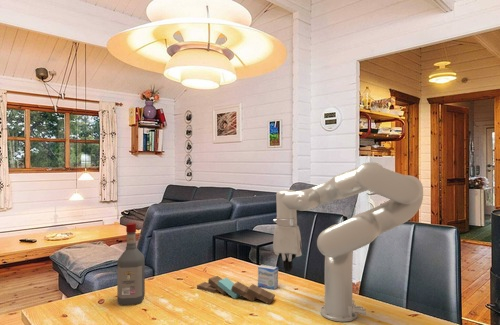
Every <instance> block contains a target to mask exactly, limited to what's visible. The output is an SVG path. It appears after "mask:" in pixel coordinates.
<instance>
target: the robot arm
mask: <svg viewBox="0 0 500 325" xmlns="http://www.w3.org/2000/svg"><path fill="white" fill-rule="evenodd" d="M366 191H369V192H371V193H373V194H376V195H379V196H381V197H383V198H386V199H389V200H387V201H385V202H383V203H381V204H379V205H377V206H375V207H373V208H371V209H369V210H366V211H363V212H360V213H357V214H355V215H354V216H353V215H352V217H349V218H348V219H346V220H344V221H342V222H339V223H336V224H332V225H330V226H329V227H327V228H326V229H324V230H322V231H321V232H320V233H319V234H318V237H317V239H316V247H317V249H318V250H319V252H320V253H321V255H323V256H324V305H322V306H321V307H320V310H319V311H320V315H321V316H322V317H324V318H325V319H328V320H330V321H333V322H340V323H341V322H342V323H344V322H352V321H354V320H356V319H357V318H358V315H363V316H366V312H367V311H366V308H364V306H361V305H357V304H355V300H353V261H354V260H353V258H354V251H357V250H358V249H361V248H364V247H366V246H367V245H369V244H371V243H372V242H374V240H375V239H377V237H378V236H380V235H382V234H384V233H386V232H388V231H390V230H392V229H394V228H397V227H398V226H401V225H403V224H404V223H407V222H408V221H409V220H411V219H413V217H415V215H416V214H417V213H418V212H419V210H420V208H421V206H422V205H423V204H422V203H423V200H424V186H423V183H422V181H421V180H420V179H419V178H417V177H416V176H414V175H409V174H408V175H407V174H401V173H399V172H397V171H393V170H390V169H388V168H385V167H383V166H382V165H381V164H379V163H377V162H373V161H372V162H371V161H369V162H365V163H362V164H361V165H359V166H357V167H355V168H353V169H350V170H347V171H345V172H342V173H339V174H337V175H334V176H333V177H332V178H331V179H330V180H328V181H325V182H324V183H321V184H318V185H316V186H312V187H310V188H304V189H300V190H292V189H281V190H278V191H276V196H275V198H276V218H274V219H273V223H276V225H275V226H274V229H273V240H272V241H273V242H272V243H273V244H272V248H273V249H272V250H273V252H274V255H276V256H279V258H281V259H282V262H283V269H284V271H285V272H286V273H287V272H288V273H290V272H291V271H292V270H293V264H294V263H293V260H294V259H295V258H299V257H301V256H302V255H303V253H302V237H301V231H300V226H299V225H298V217H297V211H298V212H299V211H300V212H303V211H309V210H312V209H314V208H317V207H320V206H322V205H326V204H328V203H331V202H334V201H338V200H344V199H346V198H347V199H348V198H350V197H352V196H353V197H354V196H355V195H359V194H361V193H364V192H366Z"/></svg>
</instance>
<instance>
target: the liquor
mask: <svg viewBox="0 0 500 325" xmlns="http://www.w3.org/2000/svg"><path fill="white" fill-rule="evenodd" d="M125 225H126V226H125V227H126V228H125V230H126V247H125V250H124V251H123V252H122V254H121V255H120V256H119V258H118V260H117V262H116V263H117V264H116V267H117V272H116V274H117V282H116V284H117V285H116V288H117V290H116V292H117V304H118V305H120V306H122V307H123V306H137V305H139V304H141V303H143V301H144V297H145V295H146V294H145V293H146V288H145V287H146V284H145V282H146V281H145V280H146V279H145V277H146V275H145V274H146V270H145V269H146V268H145V266H146V265H145V264H146V263H145V262H146V260H145V255H144V254H143V252H142V251H140V250H139V248H138V247H137V244H136V243H137V242H136V241H137V240H136V232H137V223H135V222H130V223H126V224H125Z"/></svg>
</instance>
